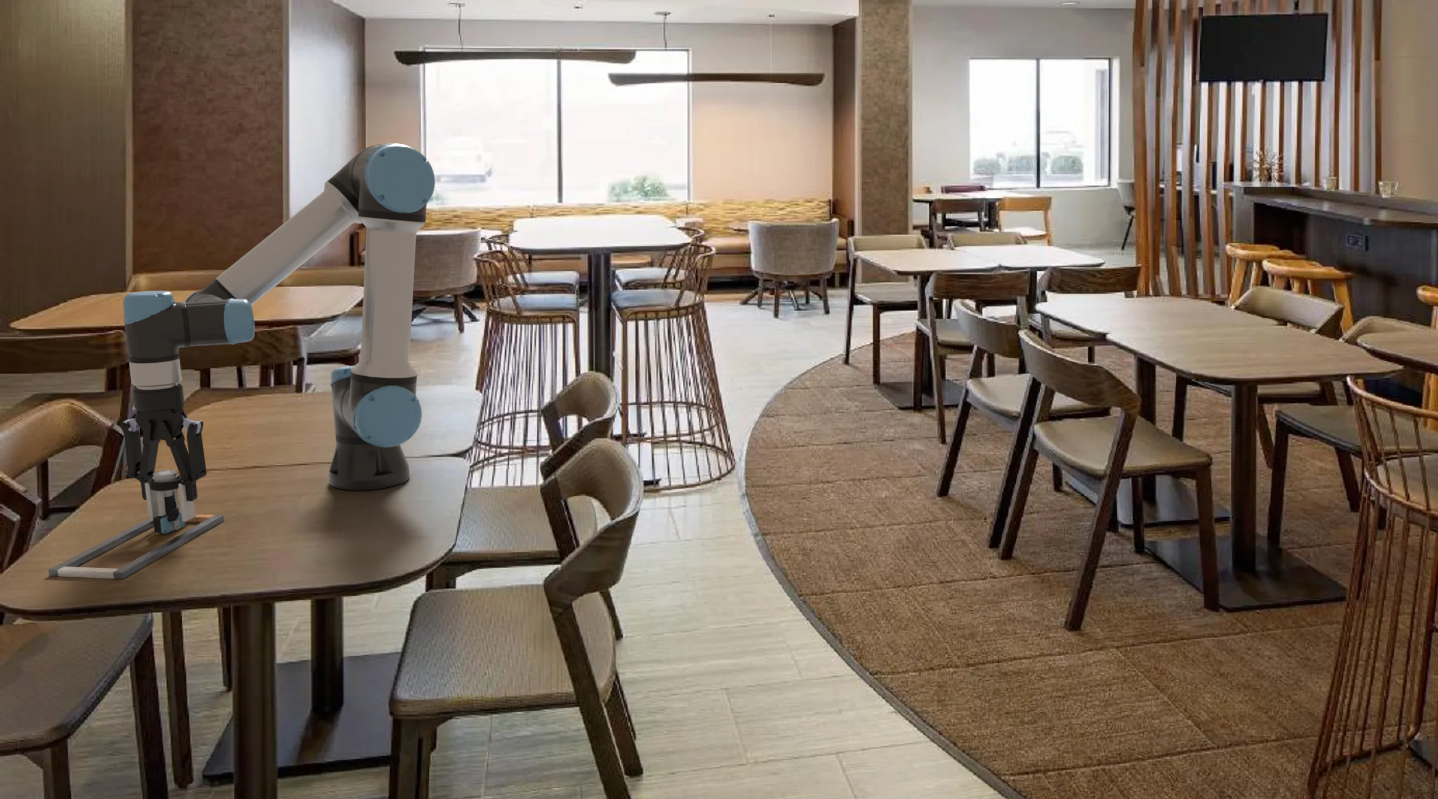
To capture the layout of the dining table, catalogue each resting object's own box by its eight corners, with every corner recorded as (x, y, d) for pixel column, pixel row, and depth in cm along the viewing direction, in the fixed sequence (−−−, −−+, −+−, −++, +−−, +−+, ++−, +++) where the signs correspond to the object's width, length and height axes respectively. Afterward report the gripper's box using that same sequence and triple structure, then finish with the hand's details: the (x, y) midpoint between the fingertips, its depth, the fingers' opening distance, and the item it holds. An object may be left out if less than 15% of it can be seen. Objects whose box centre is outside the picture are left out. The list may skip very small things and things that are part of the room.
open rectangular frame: (223, 520, 195) (223, 515, 195) (122, 578, 168) (122, 572, 168) (159, 518, 197) (159, 513, 197) (49, 575, 170) (48, 569, 169)
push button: (176, 520, 195) (170, 465, 192) (200, 523, 193) (195, 468, 191) (146, 532, 188) (139, 475, 186) (171, 536, 187) (165, 478, 185)
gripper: (221, 381, 188) (234, 513, 193) (120, 379, 190) (135, 510, 195) (196, 390, 181) (210, 527, 186) (91, 388, 183) (108, 523, 188)
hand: (172, 518), depth 190 cm, fingers closed on push button, 5 cm apart
